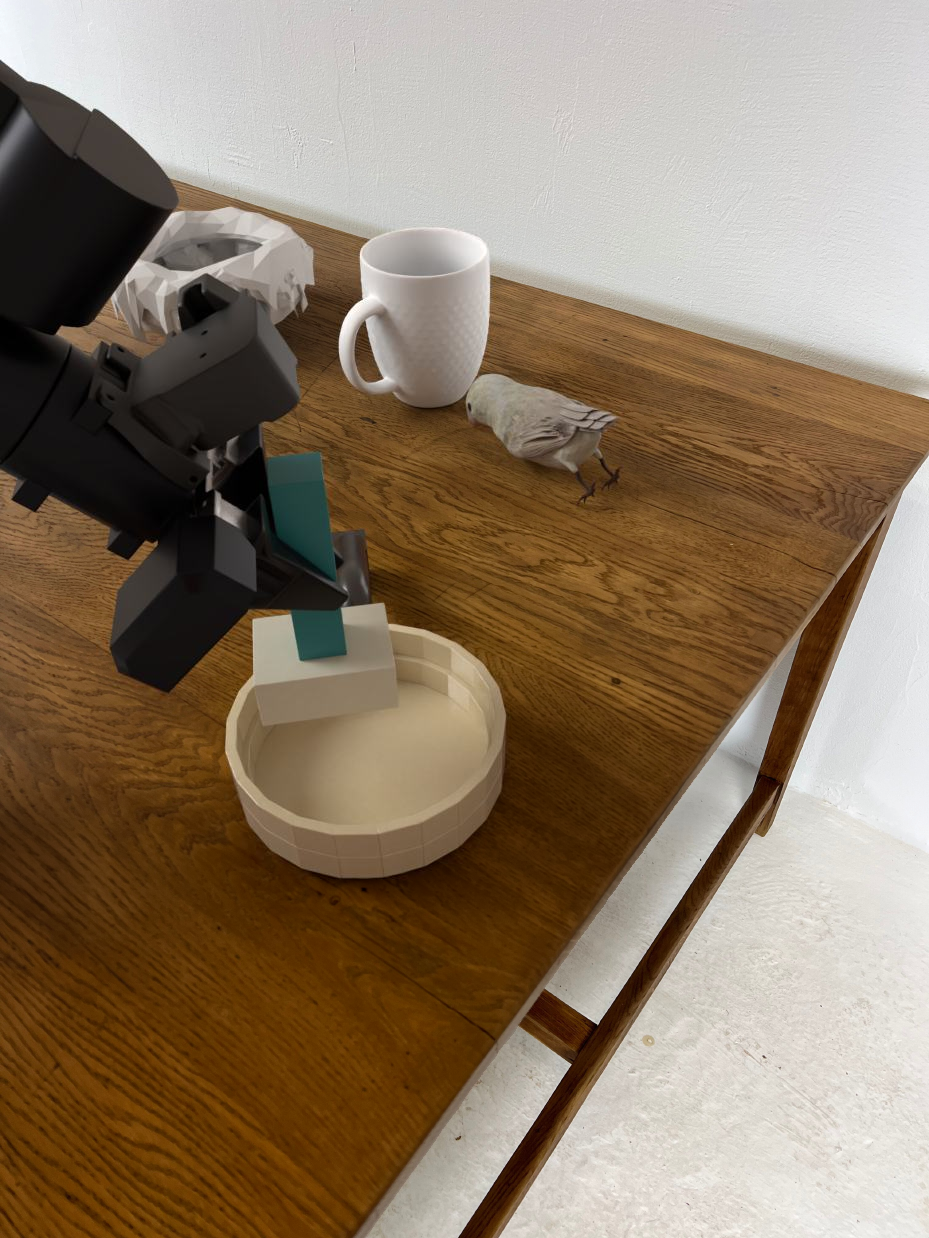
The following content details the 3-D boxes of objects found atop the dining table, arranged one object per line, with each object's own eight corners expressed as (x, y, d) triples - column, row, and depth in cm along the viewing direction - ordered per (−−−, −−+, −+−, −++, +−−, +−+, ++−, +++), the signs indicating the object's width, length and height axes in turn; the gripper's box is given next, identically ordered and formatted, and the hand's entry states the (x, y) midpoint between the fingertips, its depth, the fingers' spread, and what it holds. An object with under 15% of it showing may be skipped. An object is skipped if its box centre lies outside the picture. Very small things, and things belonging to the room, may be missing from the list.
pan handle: (345, 691, 59) (337, 636, 56) (335, 571, 68) (328, 519, 65) (383, 686, 59) (377, 632, 56) (368, 568, 68) (363, 515, 65)
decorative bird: (494, 415, 84) (494, 336, 79) (630, 491, 75) (641, 407, 70) (448, 437, 81) (446, 356, 76) (584, 518, 72) (591, 433, 67)
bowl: (87, 324, 99) (58, 227, 92) (260, 274, 108) (245, 183, 101) (170, 401, 86) (144, 296, 80) (357, 338, 95) (348, 238, 89)
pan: (236, 905, 48) (219, 855, 45) (243, 690, 59) (230, 638, 56) (528, 864, 49) (530, 813, 46) (480, 661, 61) (480, 610, 58)
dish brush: (263, 726, 48) (212, 510, 39) (261, 658, 51) (214, 446, 42) (399, 707, 49) (380, 491, 40) (387, 642, 52) (368, 431, 43)
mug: (391, 452, 79) (379, 303, 71) (313, 405, 85) (294, 263, 77) (514, 391, 87) (517, 249, 78) (435, 352, 93) (429, 216, 84)
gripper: (124, 368, 27) (494, 607, 36) (162, 168, 41) (423, 376, 49) (-59, 607, 31) (312, 767, 40) (31, 353, 45) (293, 515, 54)
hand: (340, 584), depth 46 cm, fingers closed on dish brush, 2 cm apart
